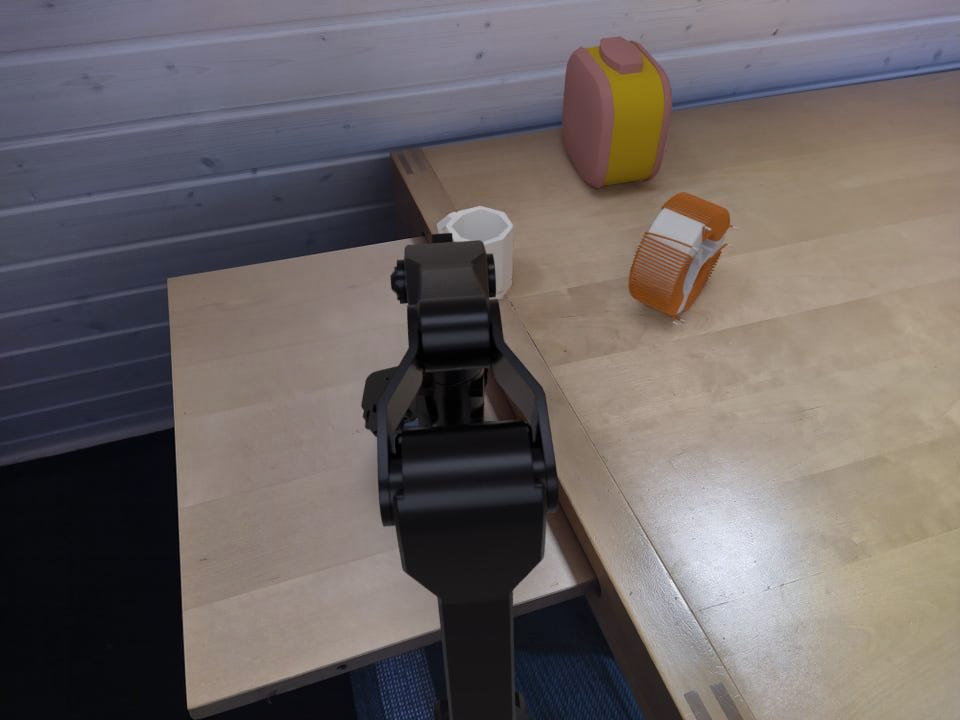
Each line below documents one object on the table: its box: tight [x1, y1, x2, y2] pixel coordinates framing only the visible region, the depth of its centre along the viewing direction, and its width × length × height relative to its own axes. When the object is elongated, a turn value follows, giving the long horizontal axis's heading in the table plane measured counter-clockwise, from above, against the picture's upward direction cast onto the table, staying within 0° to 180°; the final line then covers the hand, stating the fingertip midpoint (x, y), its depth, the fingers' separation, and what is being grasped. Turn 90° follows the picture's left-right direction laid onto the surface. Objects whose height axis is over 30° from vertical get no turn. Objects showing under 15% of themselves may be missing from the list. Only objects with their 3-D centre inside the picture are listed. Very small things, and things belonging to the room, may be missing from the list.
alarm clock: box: [561, 35, 673, 189], centre depth 109 cm, size 18×11×19 cm, turn 13°
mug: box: [436, 205, 514, 301], centre depth 94 cm, size 12×9×10 cm
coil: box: [628, 191, 740, 326], centre depth 89 cm, size 7×15×15 cm, turn 140°
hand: (458, 462), depth 75 cm, fingers open, 9 cm apart
